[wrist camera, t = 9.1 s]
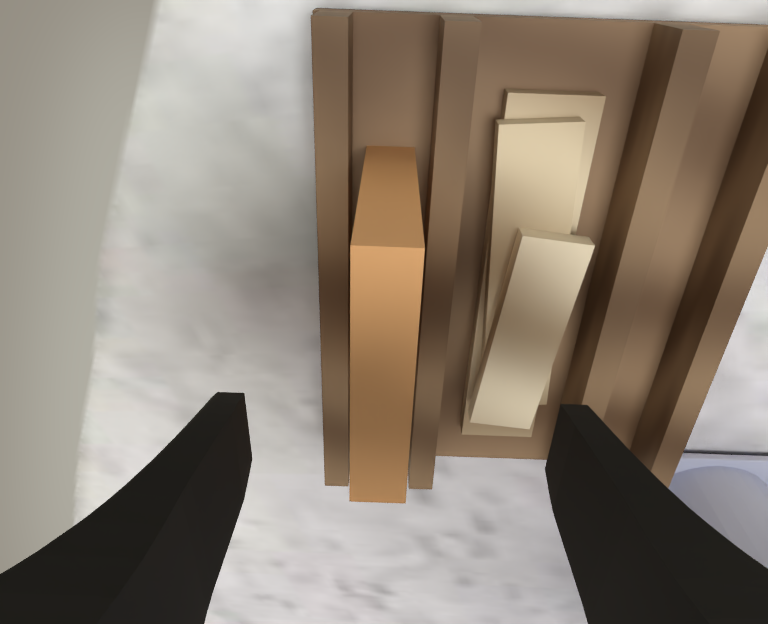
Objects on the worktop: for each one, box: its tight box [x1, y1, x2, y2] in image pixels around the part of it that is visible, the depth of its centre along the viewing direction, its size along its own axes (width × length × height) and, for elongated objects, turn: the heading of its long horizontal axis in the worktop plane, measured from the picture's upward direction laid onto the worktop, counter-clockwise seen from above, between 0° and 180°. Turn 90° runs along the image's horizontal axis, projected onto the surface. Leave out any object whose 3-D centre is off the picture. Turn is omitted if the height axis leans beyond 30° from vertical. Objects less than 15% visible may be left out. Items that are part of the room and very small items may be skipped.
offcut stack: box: [460, 89, 606, 437], centre depth 21 cm, size 14×4×2 cm, turn 178°
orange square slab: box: [350, 145, 425, 503], centre depth 18 cm, size 8×2×8 cm, turn 178°
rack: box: [311, 8, 768, 489], centre depth 21 cm, size 18×16×3 cm
